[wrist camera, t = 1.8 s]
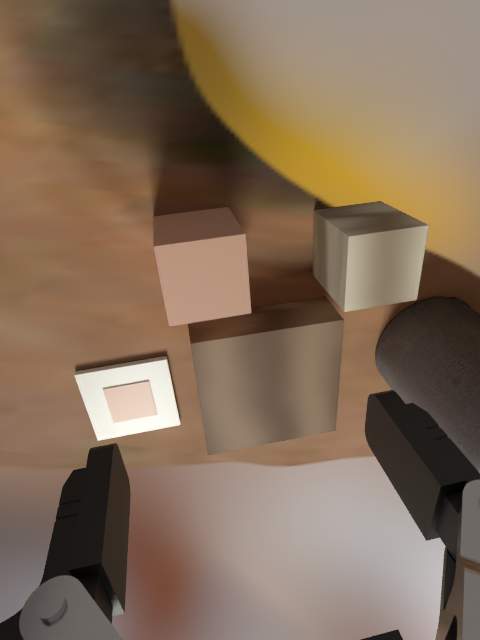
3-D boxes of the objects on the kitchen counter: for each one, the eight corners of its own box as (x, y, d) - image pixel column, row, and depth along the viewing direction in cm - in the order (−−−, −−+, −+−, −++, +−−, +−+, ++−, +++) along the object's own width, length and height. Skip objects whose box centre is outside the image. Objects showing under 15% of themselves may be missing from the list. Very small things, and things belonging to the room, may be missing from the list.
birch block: (312, 275, 31) (344, 312, 26) (313, 210, 29) (348, 236, 23) (374, 265, 32) (416, 299, 27) (380, 201, 29) (428, 225, 24)
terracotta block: (166, 284, 29) (169, 326, 24) (153, 216, 27) (153, 246, 22) (234, 274, 30) (251, 313, 25) (228, 206, 27) (245, 233, 22)
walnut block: (202, 420, 37) (207, 455, 33) (186, 315, 31) (190, 343, 28) (319, 399, 38) (335, 430, 35) (323, 295, 33) (343, 319, 29)
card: (98, 436, 35) (97, 441, 34) (75, 371, 31) (74, 376, 31) (180, 420, 36) (180, 425, 35) (166, 355, 32) (166, 360, 32)
